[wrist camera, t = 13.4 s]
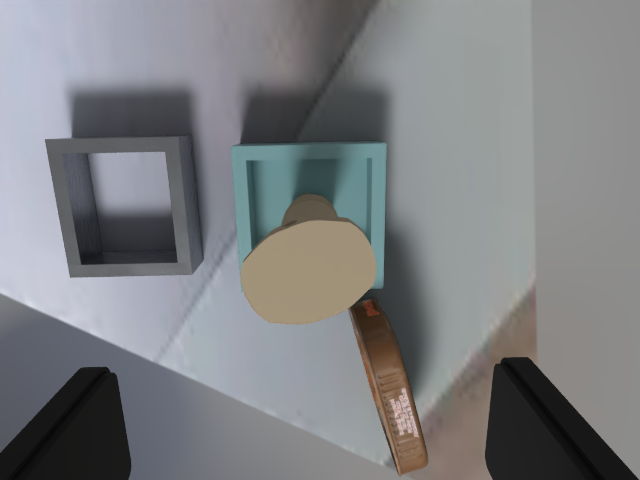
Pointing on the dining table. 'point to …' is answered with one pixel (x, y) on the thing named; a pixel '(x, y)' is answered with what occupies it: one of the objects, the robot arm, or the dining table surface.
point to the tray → (309, 187)
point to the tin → (389, 385)
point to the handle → (308, 265)
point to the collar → (82, 217)
